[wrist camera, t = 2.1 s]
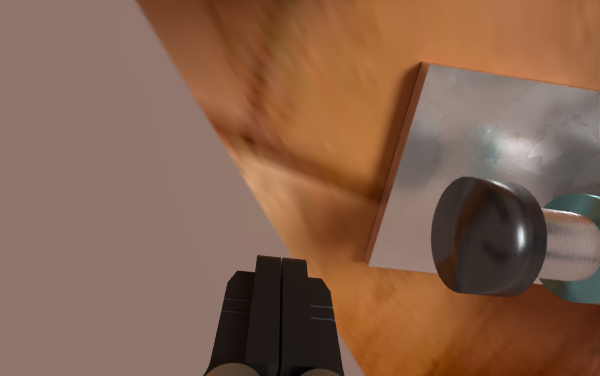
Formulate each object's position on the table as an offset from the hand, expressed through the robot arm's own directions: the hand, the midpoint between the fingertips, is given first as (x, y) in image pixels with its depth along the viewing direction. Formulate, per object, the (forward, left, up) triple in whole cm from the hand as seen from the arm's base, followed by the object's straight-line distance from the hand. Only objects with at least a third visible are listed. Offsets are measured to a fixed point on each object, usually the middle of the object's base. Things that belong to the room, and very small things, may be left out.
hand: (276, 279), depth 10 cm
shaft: (-17, 0, -7) cm, 19 cm away
